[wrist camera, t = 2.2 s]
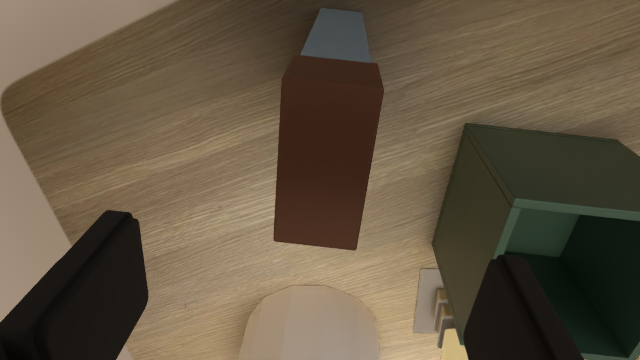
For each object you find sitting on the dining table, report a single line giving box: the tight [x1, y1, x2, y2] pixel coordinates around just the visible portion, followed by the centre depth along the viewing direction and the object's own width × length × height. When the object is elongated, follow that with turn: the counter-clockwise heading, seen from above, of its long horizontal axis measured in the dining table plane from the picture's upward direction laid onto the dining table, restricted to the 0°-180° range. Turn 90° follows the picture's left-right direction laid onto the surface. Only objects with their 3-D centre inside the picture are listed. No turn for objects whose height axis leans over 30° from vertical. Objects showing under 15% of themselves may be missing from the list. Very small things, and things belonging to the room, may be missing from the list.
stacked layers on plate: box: [413, 269, 468, 360], centre depth 41 cm, size 10×9×6 cm
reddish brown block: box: [274, 54, 384, 250], centre depth 18 cm, size 7×4×4 cm, turn 175°
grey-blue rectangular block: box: [300, 8, 372, 63], centre depth 26 cm, size 7×3×15 cm, turn 175°
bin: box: [432, 123, 640, 360], centre depth 32 cm, size 12×12×12 cm
